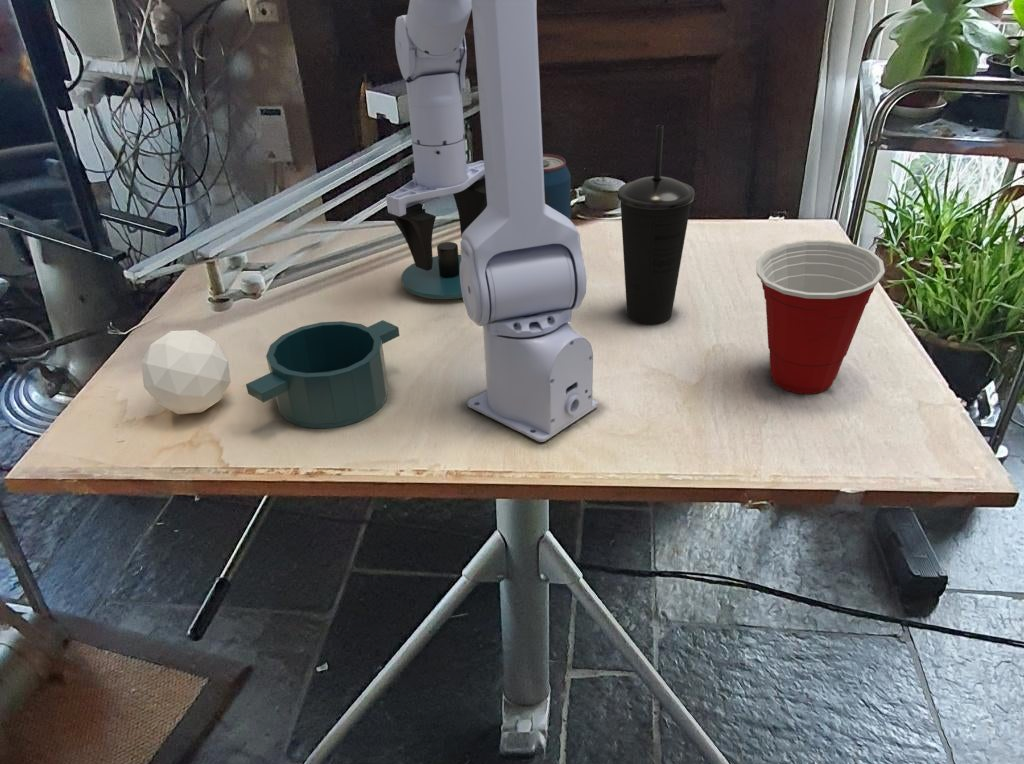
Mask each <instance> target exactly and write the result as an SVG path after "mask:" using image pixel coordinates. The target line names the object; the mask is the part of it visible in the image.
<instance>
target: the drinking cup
mask: <svg viewBox="0 0 1024 764" xmlns="http://www.w3.org/2000/svg"><path fill="white" fill-rule="evenodd" d="M663 139H664V125H662V124H658V125H656V127H655V143H654V159H653V160H654V163H653V175H650V176H644V177H641V178H638V179H635V180H633V181H628V182H627V183H625V184H622V185H621V186H620V187H619V188H618V190H617V198H618V200H619V202H620V217H621V219H620V220H621V232H622V233H621V235H622V251H623V252H622V253H623V268H624V269H623V270H624V287H625V288H624V289H625V306H626V316H627V317H628V319H629V320H631V321H632V322H635V323H637V324H640V325H641V324H642V325H658V324H659V325H660V324H663V323H666V322H667V321H669V320H670V319H671V318H672V314H673V308H674V303H675V297H676V292H677V286H678V281H679V273H680V268H681V263H682V257H683V250H684V245H685V239H686V235H687V228H688V223H689V217H690V211H691V205H692V202H693V201H694V199H695V197H696V192H695V189H694V188H693V186H691V185H689V184H687V183H684V182H682V181H680V180H678V179H675V178H672V177H668V176H663V175H661V174H662V157H663V141H664V140H663Z"/></svg>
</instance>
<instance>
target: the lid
mask: <svg viewBox="0 0 1024 764" xmlns="http://www.w3.org/2000/svg"><path fill="white" fill-rule="evenodd" d="M436 251H437V253H436V254H437V255H435V256H432V257H433V264H432V269H431V270H428V271H426V270H423V269H421V268H418V267H416V265H415V262H414V263H412V264H410V265H409V266H407V267H406V268H405V269H404V270H403V271H402V273H401V275H400V279H401V285H402V287H403V288H404V289H405V290H406V291H407V292H409V293H410V294H413V295H415V296H417V297H421V298H427V299H433V300H451V299H453V300H455V299H460V298H462V299H463V296H462V291H461V284H460V263H461V254H459V247H458V243H456V242H452V241H445V242H440V243H438V245H437V246H436Z"/></svg>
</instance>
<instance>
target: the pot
mask: <svg viewBox="0 0 1024 764" xmlns="http://www.w3.org/2000/svg"><path fill="white" fill-rule="evenodd" d="M398 337H400V329H399V327H398V326H397V325H395V324H392V323H391V322H389V321H386V320H384V319H382V320H380V321H377V322H376V323H373V324H371V325H369V326H366V325H364V324H361V323H357V322H351V321H345V320H341V321H340V320H339V321H338V320H337V321H319V322H316V323H311V324H307V325H304V326H300V327H297V328H295V329H293V330H290V331H288V332H286V333H283V334H282V335H281V336H279V337H278V338H277V339H275V341H273V342H272V343H271V344H270V345H269V347H268V351H267V352H266V355H265V357H266V363H267V367H268V371H269V372H268V373H267V374H265V375H262V376H261V377H258V378H256V379H254V380H252V381H249V382H248V383H246V384H245V387H246V390H247V394H248V395H250V396H252V397H253V398H255V399H256V400H257V401H259V402H260V403H266V402H268V401H270V400H271V399H274V398H275V402H276V405H277V408H278V411H279V413H280V414H281V416H282V417H283V418H284V419H285V420H287V421H288V422H290V423H292V424H294V425H297V426H300V427H303V428H311V429H334V428H341V427H344V426H349V425H353V424H355V423H358V422H361V421H363V420H365V419H367V418H369V417H370V416H373V415H374V414H376V412H378V411H379V410H380V409H382V407H383V406H384V404H385V403H386V401H387V399H388V397H389V396H388V395H389V389H388V387H389V384H388V376H387V368H386V361H385V360H386V359H385V355H384V347H383V345H385V344H386V343H388V342H390V341H392V340H394V339H396V338H398Z"/></svg>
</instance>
